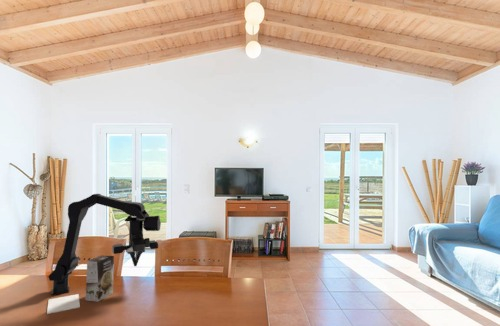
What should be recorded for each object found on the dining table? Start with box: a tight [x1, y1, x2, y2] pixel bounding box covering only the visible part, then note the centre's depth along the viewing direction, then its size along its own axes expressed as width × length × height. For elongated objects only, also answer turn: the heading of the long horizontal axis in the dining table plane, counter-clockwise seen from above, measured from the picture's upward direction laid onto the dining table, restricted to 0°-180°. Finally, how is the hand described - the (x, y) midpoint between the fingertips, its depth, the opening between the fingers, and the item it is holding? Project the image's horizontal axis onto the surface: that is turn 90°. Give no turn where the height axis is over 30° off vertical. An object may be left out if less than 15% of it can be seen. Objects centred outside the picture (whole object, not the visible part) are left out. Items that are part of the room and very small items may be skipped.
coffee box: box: [85, 255, 115, 303], centre depth 122 cm, size 9×6×16 cm
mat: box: [46, 293, 81, 315], centre depth 115 cm, size 14×10×1 cm
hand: (135, 266), depth 130 cm, fingers closed
